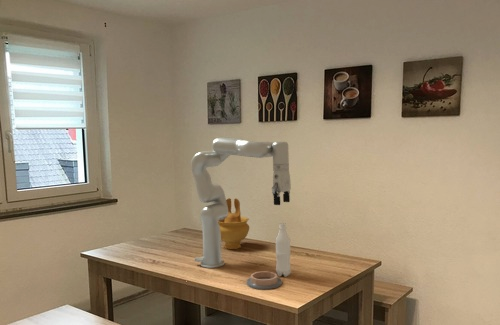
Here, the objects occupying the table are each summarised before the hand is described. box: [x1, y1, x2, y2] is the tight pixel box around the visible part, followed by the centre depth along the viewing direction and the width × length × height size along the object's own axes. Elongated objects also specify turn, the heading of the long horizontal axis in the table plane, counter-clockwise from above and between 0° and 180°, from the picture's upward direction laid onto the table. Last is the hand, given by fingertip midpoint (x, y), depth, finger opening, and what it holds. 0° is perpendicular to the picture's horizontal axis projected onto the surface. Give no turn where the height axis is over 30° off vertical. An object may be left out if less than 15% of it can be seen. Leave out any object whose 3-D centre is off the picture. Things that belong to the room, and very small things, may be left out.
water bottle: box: [275, 222, 292, 278], centre depth 191 cm, size 7×7×25 cm
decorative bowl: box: [218, 197, 250, 250], centre depth 246 cm, size 21×21×30 cm
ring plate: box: [246, 270, 283, 291], centre depth 181 cm, size 16×16×4 cm
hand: (281, 203), depth 190 cm, fingers open, 9 cm apart
